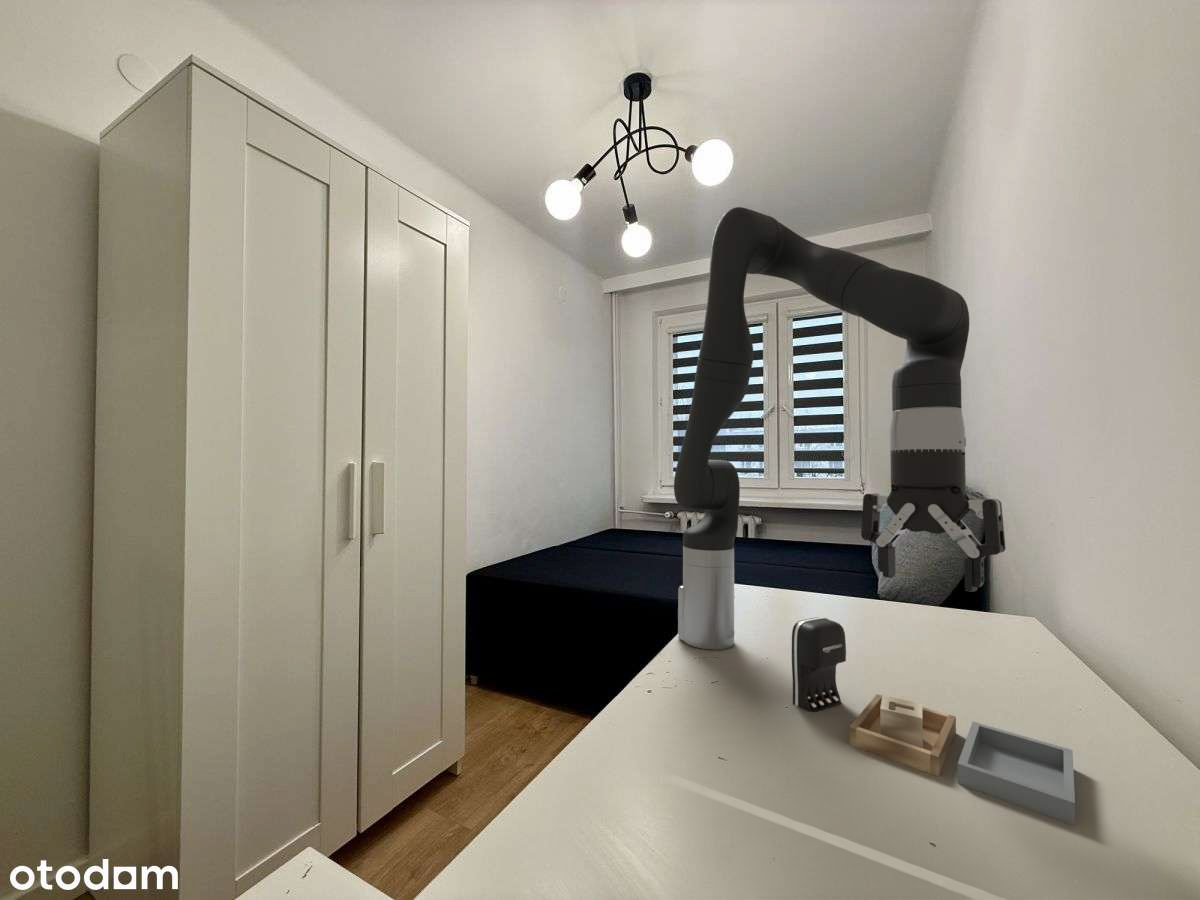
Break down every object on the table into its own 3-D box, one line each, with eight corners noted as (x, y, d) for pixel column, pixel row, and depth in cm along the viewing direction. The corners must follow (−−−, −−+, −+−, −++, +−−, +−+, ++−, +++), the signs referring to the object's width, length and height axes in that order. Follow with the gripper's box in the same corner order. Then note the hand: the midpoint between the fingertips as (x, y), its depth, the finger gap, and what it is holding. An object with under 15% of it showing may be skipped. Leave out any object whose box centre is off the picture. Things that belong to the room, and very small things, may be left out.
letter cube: (880, 744, 56) (880, 707, 56) (883, 729, 59) (882, 694, 59) (922, 755, 54) (922, 717, 54) (922, 739, 57) (922, 703, 57)
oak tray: (849, 749, 56) (849, 726, 56) (876, 713, 64) (876, 694, 64) (938, 782, 50) (938, 757, 50) (956, 738, 58) (955, 716, 59)
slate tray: (958, 789, 49) (957, 763, 49) (973, 743, 57) (972, 721, 57) (1075, 832, 43) (1074, 803, 43) (1073, 774, 52) (1072, 749, 52)
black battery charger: (814, 721, 62) (813, 629, 63) (790, 707, 65) (789, 620, 66) (851, 709, 65) (850, 621, 66) (826, 697, 69) (825, 614, 69)
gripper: (851, 448, 63) (852, 577, 62) (991, 444, 52) (994, 601, 51) (876, 450, 68) (877, 569, 67) (1009, 447, 57) (1012, 590, 56)
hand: (928, 583), depth 59 cm, fingers open, 8 cm apart
